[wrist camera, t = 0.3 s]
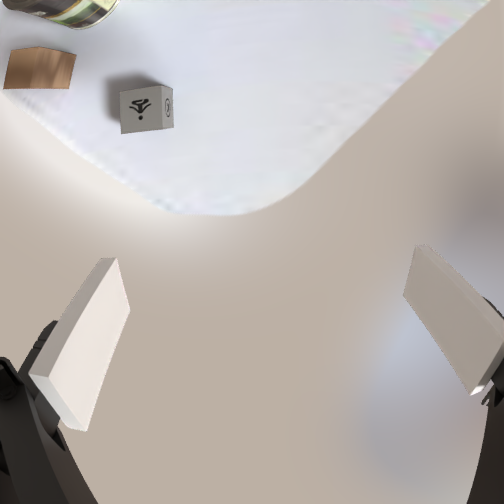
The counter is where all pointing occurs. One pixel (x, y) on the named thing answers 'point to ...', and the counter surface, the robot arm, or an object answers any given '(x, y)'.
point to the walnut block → (39, 69)
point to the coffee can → (66, 10)
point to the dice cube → (146, 109)
